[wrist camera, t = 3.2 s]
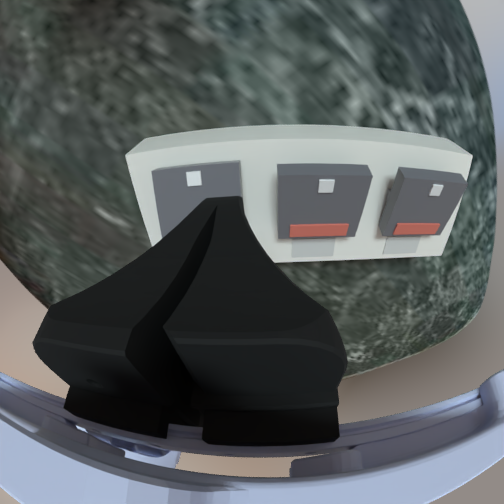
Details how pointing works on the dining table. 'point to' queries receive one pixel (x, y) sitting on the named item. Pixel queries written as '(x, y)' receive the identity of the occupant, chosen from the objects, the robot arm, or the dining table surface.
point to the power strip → (304, 151)
